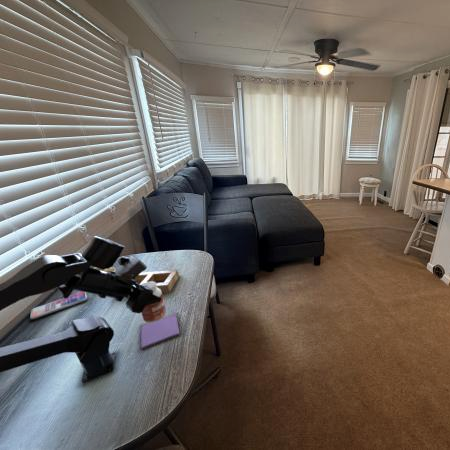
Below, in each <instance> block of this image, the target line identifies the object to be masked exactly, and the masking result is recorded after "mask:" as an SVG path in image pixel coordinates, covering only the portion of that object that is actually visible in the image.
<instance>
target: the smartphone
mask: <svg viewBox="0 0 450 450" xmlns="http://www.w3.org/2000/svg"><path fill="white" fill-rule="evenodd" d="M87 294H88V293H86V292H81V291H79V292H77V293H74V294H70V296H69V297H68V298H66V299H65V298H64V297H62V298H60V299H57V300H54V301H51V302H48V303H45V304H42V305H38V306H36V307H33V308H32V309H31V310H30V318H29V319H30V320H36V319H39V318H41V317H44V316H47V315H49V314H52V313H55V312H59V311H60V310H64V309H66V308H69V307H71V306H74V305H77V304H81V303H83V302H85V301H87V300H88V295H87Z"/></svg>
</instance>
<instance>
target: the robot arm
mask: <svg viewBox="0 0 450 450" xmlns="http://www.w3.org/2000/svg"><path fill="white" fill-rule="evenodd" d="M125 249H126V246H125V245H123V244H120V243H119V242H116V241H114V240H112V239H109V238H103V237H99V236H97V235H95V236H93V238H92V239H91V240H90V244H89V245H88V246H87V247H86V249H85V250H84V251H83V253H81V252H75V253H70V254H65V255H64V254H63V255H54V254H45V255H43V256H40V257H38V258H36V259H34V260H33V261H32V262H30V263H28V264H27V265H26V266H24V267H23V268H21V269H20V270H19V271H18V272H16V273H15V274H14V275H13V276H12V277H10V278H8V279H7V280H5V281H4V282H2V283H0V312H1V311H3V310H4V309H6V308H8V307H10V306H12V305H15V304H16V303H17V302H19V301H21V300H25V299H27V298H29V297H34V296H38V295H41V294H45V293H47V292H49V291H52V290H55V289H58V291H59V292H60V294H61V296H62V298H65V299H66V298H68V297H69V296H71V295H72V293H73V291H77V292H86V294H91V295H95V296H96V295H97V296H98V297H99V298H100V299H103V300H104V299H105V298H110V299H114V300H116V302H119V303H122V302H123V300H124V299H127V300H126V302H125V306H126V308H127V310H129V311H130V312H131V313H134V314H142V313H141V312H142V311H143V309H144V308H145V306H147V305H150V304H154V303H158V302H160V301H161V299H162V298H160V297H158V296H156V295H154V294H153V290H152V289H150V288H149V287H148V286H146V285H145V286H144V285H139V284H140V283H139V282H137V283H136V281H135V278H136V277H137V276H138V275H139V274H140V273H143V272H146V270H147V268H148V266H147V265H146V264H145V263H144V262H143V261H142V260H141V259H140V258H138V257H136V256H131V255H130V256H129V257H127V256H121V255H122V254H123V252H124V250H125ZM116 262H118V266H117V268H116V270H115V271H112V270H110V271H107V272H105V271H102V270H98V269H95V268H94V267H96V268H99V269H105V268H107V269H109V268H110V267H111V268H112V267H114V265H115V264H116ZM71 324H72V325H71V326H70V327H68V328H67V329H66V328H65V330H63V331H60V332H57V333H52V334H48V335H45V336H41V337H37V338H32V339H29V340H24V341H21V342H16V343H14V344H9V345H6V346H2V347H0V373H5V372H6V371H10V370H12V369H13V370H14V369H17V368H19V367H23V366H26V365H29V364H32V363H36V362H38V361H42V360H46V359H48V358H52V357H55V356H58V355H61V354H66V353H69V354H72V353H75V356H76V357H77V359H78V362H79V363H80V365H81V367H82V369H83V375H82V377H81V384H85V383H88V382H90V381H93V380H94V379H97V378H100V377H102V376H104V375H107V374H109V373H111V372H113V371H114V370H115V366H116V365H115V364H116V355H117V353H116V352H111V353H110V344H111V341H112V340H113V338H114V336H115V331H114V329H113V328H112V327H111V326H110V323H108V321H107V319H105V318H103V317H102V316H93V314H91V315H89V316H87V317H84V318H78V319H77V318H75V319H73V320H72V321H71Z"/></svg>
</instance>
